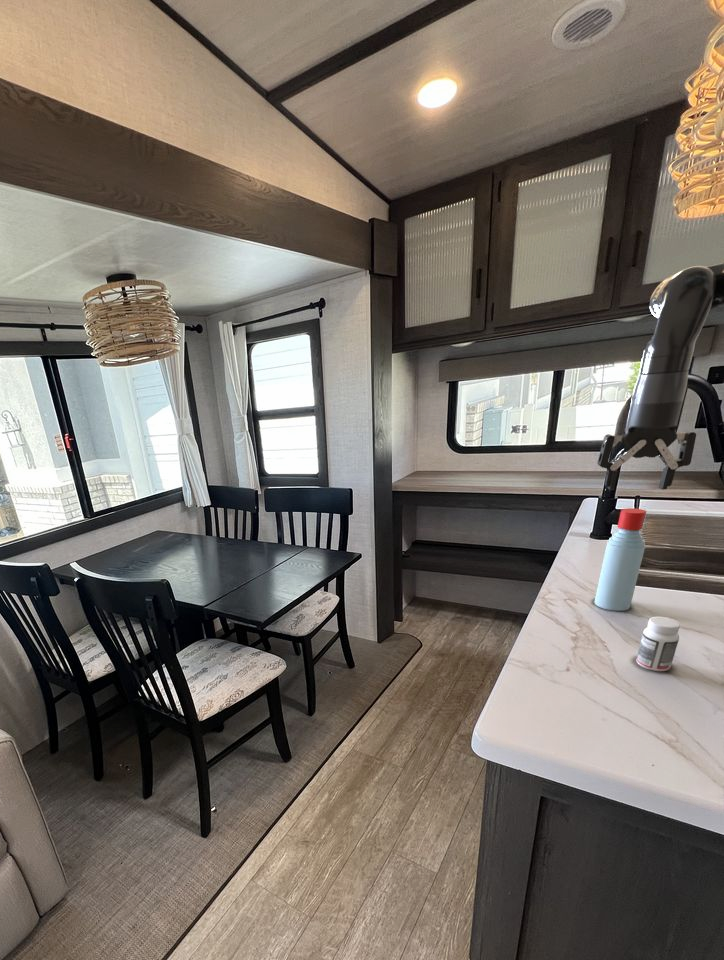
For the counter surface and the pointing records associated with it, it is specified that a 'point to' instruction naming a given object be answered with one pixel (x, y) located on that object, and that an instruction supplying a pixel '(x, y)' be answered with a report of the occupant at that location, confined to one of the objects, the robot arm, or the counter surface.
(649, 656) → the pill bottle
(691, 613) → the counter surface
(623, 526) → the cap
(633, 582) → the water bottle
